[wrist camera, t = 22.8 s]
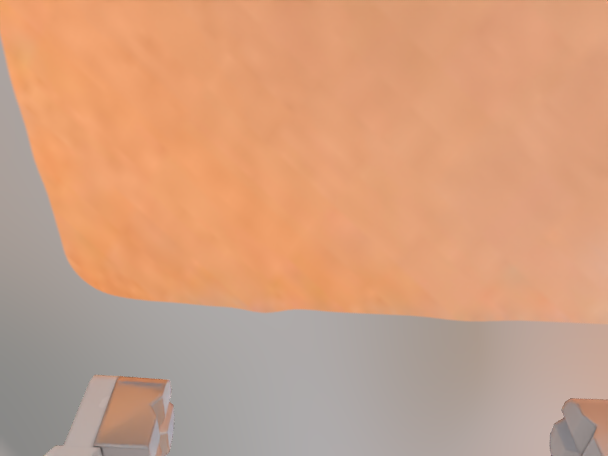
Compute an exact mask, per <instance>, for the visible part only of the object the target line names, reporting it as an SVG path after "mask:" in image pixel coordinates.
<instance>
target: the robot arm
mask: <svg viewBox="0 0 608 456" xmlns="http://www.w3.org/2000/svg"><path fill="white" fill-rule="evenodd" d="M171 392H172V389H171V383H170V380H163V379H149V378H136V377H123V376H105V375H94V377H93V378H92V379H91V380H90V382H89V384H88V386H87V389H86V391H85V393H84V396H83V399H82V401H81V403H80V406H79V408H78V411H77V413H76V416H75V418H74V421H73V423H72V426H71V428H70V431H69V433H68V435H67V438H66V441H65V443H64V445H59V446H58V445H56V446H55V447H53V448H52V449H51V450H50V451H48V452H47V453H46V454H45V455H44V456H166V455H167V454H168V453H169V451H170V447H171V442H172V437H173V429H174V406H173V404H171V403H170V402H169V401H170V397H171ZM562 412H563V415H564V418H563V419H561V420H559V421H558V422H556V423H555V424H554V426H553V429H552V431H551V433H550V451H551V456H608V400H603V399H573V398H571V399H569V400H567V401H566V402H565V403H564V406H563V407H562Z"/></svg>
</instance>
